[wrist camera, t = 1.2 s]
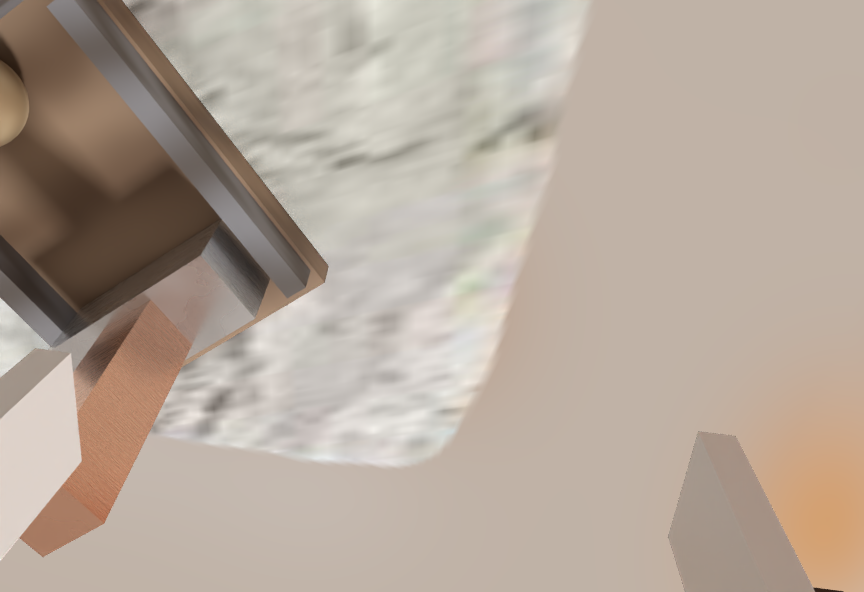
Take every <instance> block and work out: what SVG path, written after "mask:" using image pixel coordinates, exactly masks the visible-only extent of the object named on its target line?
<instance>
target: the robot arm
mask: <svg viewBox="0 0 864 592" xmlns="http://www.w3.org/2000/svg"><path fill="white" fill-rule="evenodd" d="M81 462H82V459H81V448H80V438H79V428H78V418H77V408H76V398H75V388H74V378H73V368H72V358H71V353H68V352H60V351H52V350H44V349H36V348H35V349H34V350H33V351H31V352H30V353H29V354H28V355H27V356H26V357H24V358H23V359H22V360H21V361H20V362H19V363H17V364H16V365H15V366H14V367H13V368H12V369H10V370H9V371H8V372H7V373H6V374H4V375H3V376H2V377H1V378H0V560H2V558H3V557H4V556H5V555H6V553H7V552H8V551H9V550H10V548H11V547H12V546H13V545H14V544H15V542H16V541H17V540H18V539H19V537H20V536H21V535H22V534H23V533H24V531H25V530H26V529H27V528H28V526H29V525H30V524H31V523H32V522H33V520H34V519H35V518H36V517H37V515H38V514H39V513H40V512H41V511H42V509H43V508H44V507H45V506H46V504H47V503H48V502H49V501H50V500H51V498H52V497H53V496H54V495H55V493H56V492H57V491H58V490H59V488H60V487H61V486H62V485H63V484H64V482H65V481H66V480H67V479H68V477H69V476H70V475H71V474H72V473H73V471H74V470H75V469H76V468H77V466H78V465H79V464H80V463H81ZM668 538H669V541H670V544H671V548H672V551H673V554H674V557H675V561H676V564H677V567H678V570H679V574H680V577H681V580H682V584H683V587H684V590H685V592H843V591H836V590H828V589H820V588H813V587H812V585H811V583H810V581H809V579H808V577H807V575H806V573H805V571H804V569H803V567H802V565H801V563H800V561H799V559H798V557H797V555H796V553H795V551H794V549H793V547H792V545H791V544H790V542H789V540H788V538H787V536H786V534H785V532H784V530H783V528H782V526H781V524H780V522H779V520H778V518H777V516H776V514H775V512H774V510H773V508H772V506H771V504H770V503H769V500H768V498H767V496H766V495H765V493H764V491H763V489H762V487H761V485H760V483H759V481H758V479H757V477H756V475H755V473H754V471H753V469H752V467H751V465H750V463H749V461H748V459H747V457H746V455H745V453H744V451H743V449H742V448H741V446H740V444H739V442H738V440H737V438H736V436H732V435H724V434H716V433H708V432H698V434H697V438H696V441H695V445H694V448H693V451H692V455H691V458H690V462H689V466H688V469H687V472H686V476H685V480H684V483H683V487H682V490H681V493H680V497H679V500H678V504H677V508H676V511H675V514H674V518H673V521H672V525H671V528H670V532H669V535H668Z"/></svg>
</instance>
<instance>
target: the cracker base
mask: <svg viewBox="0 0 864 592" xmlns="http://www.w3.org/2000/svg"><path fill="white" fill-rule="evenodd" d="M219 219H222V220H223V221H224V223H225V224H226V225H227V226H228V227H229V229H230V230H231V231H232V232H233V233H234V235H235V236H236V237H237V238H238V240H239V241H240V242H241V243H242V244H243V246H244V247H245V248H246V249H247V250H248V252H249V253H250V254H251V255H252V257H253V258H254V259H255V260H256V261H257V263H258V264H259V265H260V266H261V267H262V269H263V270H264V271H265V272H266V274H267V275H268V276H269V277H270V281H269V283H268V286H267V289H266V291H265V294H264V297H263V299H262V302H261V304H260V307H259V310H258V312H257V315H256V318H255V319H254V320H252V321H250V322H249V323H247V324H245V325H244V326H242V327H240V328H239V329H237V330H235V331H234V332H232V333H230V334H229V335H227V336H225V337H224V338H222V339H220V340H218V341H217V342H215V343H213V344H212V345H210V346H208V347H207V348H205V349H203V350H202V351H200V352H198V353H197V354H195V355H193V356H192V357H190V358H188V359H186V360H185V361H184V363H183V365H182V367H183V366H185V365H186V364H188V363H190V362H191V361H193V360H195V359H196V358H198V357H200V356H201V355H203V354H205V353H207V352H208V351H210V350H212V349H213V348H215V347H217V346H218V345H220V344H222V343H223V342H225V341H227V340H228V339H230V338H232V337H234V336H235V335H237V334H239V333H240V332H242V331H244V330H245V329H247V328H249V327H250V326H252V325H254V324H255V323H257V322H259V321H261V320H262V319H264V318H266V317H267V316H269V315H271V314H272V313H274V312H276V311H277V310H279V309H281V308H282V307H284V306H286V305H288V304H289V303H291V302H293V301H294V300H296V299H298V298H299V297H301V296H303V295H304V294H306V293H308V292H309V291H311V290H313V289H315V288H316V287H318V286H320V285H321V284H323V283H325V279H326V275H327V271H328V267H329V266H328V265H327V264H326V262H325V261H324V260H323V259H322V257H321V256H320V255H319V253H318V252H317V251H316V250H315V248H314V247H313V246H312V244H311V243H310V242H309V241H308V239H307V238H306V237H305V235H304V234H303V233H302V232H301V230H300V229H299V228H298V226H297V225H296V224H295V223H294V221H293V220H292V219H291V217H290V216H289V215H288V214H287V212H286V211H285V210H284V208H283V207H282V206H281V205H280V203H279V202H278V201H277V199H276V198H275V197H274V196H273V194H272V193H271V192H270V190H269V189H268V188H267V187H266V185H265V184H264V183H263V181H262V180H261V179H260V178H259V176H258V175H257V174H256V172H255V171H254V170H253V169H252V167H251V166H250V165H249V163H248V162H247V161H246V160H245V158H244V157H243V156H242V154H241V153H240V152H239V151H238V149H237V148H236V147H235V145H234V144H233V143H232V142H231V140H230V139H229V138H228V136H227V135H226V134H225V133H224V131H223V130H222V129H221V127H220V126H219V125H218V124H217V122H216V121H215V120H214V118H213V117H212V116H211V115H210V113H209V112H208V111H207V109H206V108H205V107H204V106H203V104H202V103H201V102H200V100H199V99H198V98H197V97H196V95H195V94H194V93H193V91H192V90H191V89H190V88H189V86H188V85H187V84H186V82H185V81H184V80H183V79H182V77H181V76H180V75H179V73H178V72H177V71H176V70H175V68H174V67H173V66H172V64H171V63H170V62H169V61H168V59H167V58H166V57H165V55H164V54H163V53H162V52H161V50H160V49H159V48H158V46H157V45H156V44H155V43H154V41H153V40H152V39H151V37H150V36H149V35H148V34H147V32H146V31H145V30H144V28H143V27H142V26H141V25H140V23H139V22H138V21H137V19H136V18H135V17H134V16H133V14H132V13H131V12H130V10H129V9H128V8H127V7H126V5H125V4H124V3H123V1H122V0H0V298H1V299H3V300H4V301H5V302H6V303H7V304H8V305H9V306H10V307H11V308H12V309H13V310H14V311H15V312H16V313H17V314H18V315H19V316H20V317H21V318H22V319H23V320H24V321H25V322H26V323H27V324H28V325H29V326H30V327H31V328H32V329H33V330H34V331H35V332H36V333H37V334H38V335H39V336H40V337H42V338H43V339H44V340H45V341H46V342H47V343H48V344H49V345H50V346H51V345H52V344H53V343H54V342H55V340H56V339H57V338H58V337H59V335H60V334H61V333H62V332H63V330H64V329H65V328H66V327H67V325H68V324H69V323H70V322H71V320H72V319H73V318H74V317H75V315H76V314H77V313H78V311H79V310H80V309H81V308H82V307H84V306H85V305H87V304H89V303H90V302H92V301H93V300H95V299H96V298H98V297H99V296H101V295H103V294H104V293H106V292H107V291H109V290H110V289H112V288H113V287H115V286H116V285H118V284H120V283H121V282H123V281H124V280H126V279H127V278H129V277H130V276H132V275H134V274H135V273H137V272H138V271H140V270H141V269H143V268H144V267H146V266H148V265H149V264H151V263H152V262H154V261H155V260H157V259H158V258H160V257H162V256H163V255H165V254H166V253H168V252H169V251H171V250H172V249H174V248H176V247H177V246H179V245H180V244H182V243H183V242H185V241H186V240H188V239H190V238H191V237H193V236H194V235H196V234H197V233H199V232H200V231H202V230H204V229H205V228H207V227H208V226H210V225H211V224H213V223H214V222H216V221H218V220H219Z"/></svg>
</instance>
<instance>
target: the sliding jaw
mask: <svg viewBox="0 0 864 592" xmlns="http://www.w3.org/2000/svg"><path fill="white" fill-rule="evenodd" d="M269 281H270V277H269V276H268V275H267V274H266V272H265V271H264V270H263V269H262V267H261V266H260V265H259V264H258V263H257V261H256V260H255V259H254V258H253V257H252V255H251V254H250V253H249V252H248V250H247V249H246V248H245V247H244V246H243V244H242V243H241V242H240V241H239V240H238V238H237V237H236V236H235V235H234V233H233V232H232V231H231V230H230V229H229V227H228V226H227V225H226V224H225V223H224V221H223V220H222V219H219V220H218V221H216V222H214V223H213V224H211V225H210V226H208V227H207V228H205V229H204V230H202V231H200V232H199V233H197V234H196V235H194V236H193V237H191V238H190V239H188V240H186V241H185V242H183V243H182V244H180V245H179V246H177V247H176V248H174V249H172V250H171V251H169V252H168V253H166V254H165V255H163V256H162V257H160V258H158V259H157V260H155V261H154V262H152V263H151V264H149V265H148V266H146V267H144V268H143V269H141V270H140V271H138V272H137V273H135V274H134V275H132V276H130V277H129V278H127V279H126V280H124V281H123V282H121V283H120V284H118V285H116V286H115V287H113V288H112V289H110V290H109V291H107V292H106V293H104V294H103V295H101V296H99V297H98V298H96V299H95V300H93V301H92V302H90V303H89V304H87V305H85V306H84V307H82V308H81V309H80V310H79V311H78V313H77V314H76V315H75V317H74V318H73V319H72V320H71V322H70V323H69V324H68V325H67V327H66V328H65V329H64V330H63V332H62V333H61V334H60V335H59V337H58V338H57V339H56V340H55V342H54V343H53V344H52V345H51V347H50V348H49V349H48V350H52V351H60V352H68V353H71V358H72V368H73V378H74V388H75V398H76V408H77V418H78V428H79V438H80V448H81V459H82V462H81V463H80V464H79V465H78V466H77V468H76V469H75V470H74V471H73V473H72V474H71V475H70V476H69V477H68V479H67V480H66V481H65V482H64V484H63V485H62V486H61V487H60V488H59V490H58V491H57V492H56V493H55V495H54V496H53V497H52V498H51V500H50V501H49V502H48V503H47V504H46V506H45V507H44V508H43V509H42V511H41V512H40V513H39V514H38V515H37V517H36V518H35V519H34V520H33V522H32V523H31V524H30V525H29V526H28V528H27V529H26V530H25V531H24V533H23V534H22V535H21V536H20V537H19V538H20V539H22V540H23V541H24V542H25V543H26V544H28V545H29V546H30V547H31V548H32V549H34V550H35V551H36V552H38V553H39V554H40V555H41V556H42V557H44V556H45V555H47V554H49V553H51V552H53V551H55V550H56V549H58V548H60V547H62V546H64V545H66V544H67V543H69V542H71V541H73V540H75V539H76V538H78V537H80V536H82V535H84V534H86V533H88V532H89V531H91V530H93V529H95V528H97V527H99V526H100V525H102V524H104V523H105V520H106V518H107V516H108V514H109V512H110V510H111V508H112V506H113V504H114V502H115V500H116V498H117V496H118V494H119V492H120V490H121V488H122V486H123V484H124V482H125V480H126V478H127V476H128V474H129V472H130V470H131V468H132V466H133V464H134V462H135V460H136V458H137V456H138V454H139V452H140V450H141V448H142V445H143V444H144V441H145V439H146V438H147V436H148V434H149V432H150V429H151V427H152V425H153V423H154V421H155V419H156V417H157V415H158V413H159V411H160V409H161V407H162V405H163V403H164V401H165V399H166V397H167V395H168V393H169V391H170V389H171V387H172V385H173V383H174V381H175V379H176V377H177V375H178V373H179V371H180V369H181V367H182V365H183V363H184V361H185V360H186V359H188V358H190V357H192V356H193V355H195V354H197V353H198V352H200V351H202V350H203V349H205V348H207V347H208V346H210V345H212V344H213V343H215V342H217V341H218V340H220V339H222V338H224V337H225V336H227V335H229V334H230V333H232V332H234V331H235V330H237V329H239V328H240V327H242V326H244V325H245V324H247V323H249V322H250V321H252V320H254V319H255V318H256V315H257V312H258V310H259V307H260V304H261V302H262V299H263V297H264V294H265V291H266V289H267V286H268V283H269Z"/></svg>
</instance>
